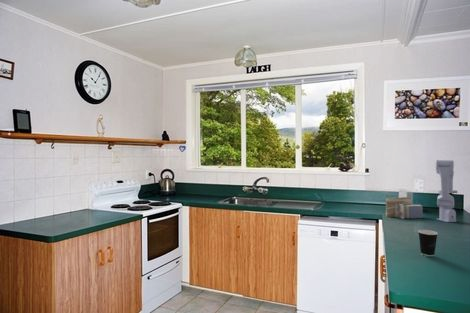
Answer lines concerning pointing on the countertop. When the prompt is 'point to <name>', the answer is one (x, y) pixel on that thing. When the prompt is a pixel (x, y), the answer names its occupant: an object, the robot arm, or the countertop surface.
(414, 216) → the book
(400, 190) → the skincare box
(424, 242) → the dixie cup
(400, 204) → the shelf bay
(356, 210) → the countertop surface
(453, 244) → the countertop surface
